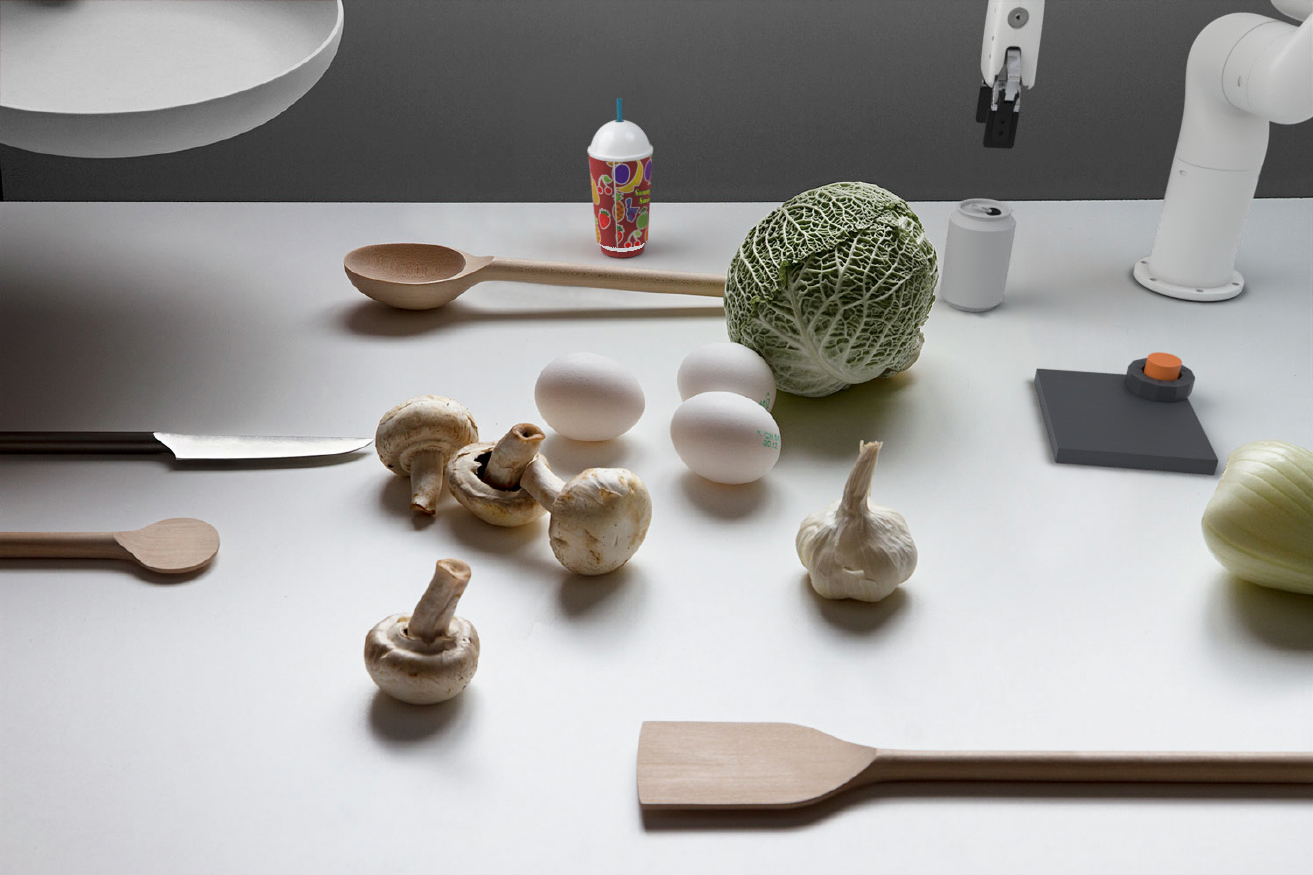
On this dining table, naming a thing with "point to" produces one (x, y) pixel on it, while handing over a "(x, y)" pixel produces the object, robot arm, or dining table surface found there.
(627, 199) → the smoothie
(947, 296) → the can
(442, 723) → the dining table surface
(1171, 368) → the tare button
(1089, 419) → the grey flat slab
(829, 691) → the dining table surface
